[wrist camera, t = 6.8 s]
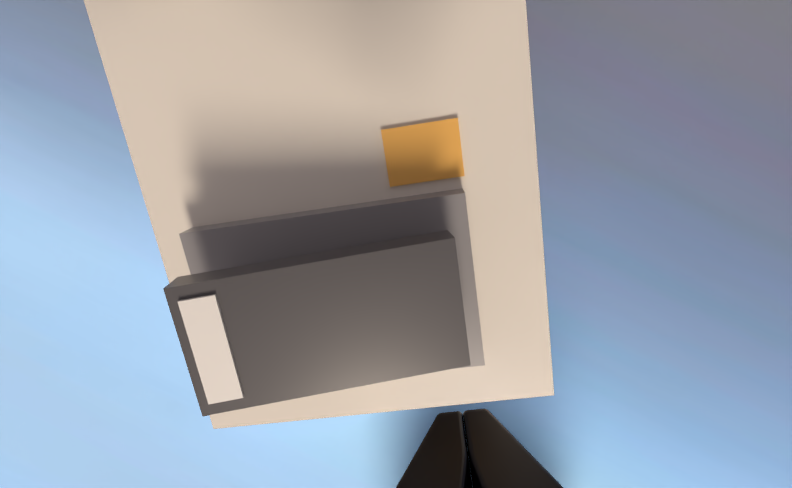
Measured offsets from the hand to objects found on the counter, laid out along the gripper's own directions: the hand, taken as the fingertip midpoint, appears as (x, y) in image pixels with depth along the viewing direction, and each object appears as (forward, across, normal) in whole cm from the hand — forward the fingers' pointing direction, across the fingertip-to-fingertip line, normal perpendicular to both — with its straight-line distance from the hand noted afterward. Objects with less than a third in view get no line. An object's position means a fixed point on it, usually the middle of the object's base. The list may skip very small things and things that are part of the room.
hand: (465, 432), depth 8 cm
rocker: (+6, +4, 0) cm, 7 cm away
